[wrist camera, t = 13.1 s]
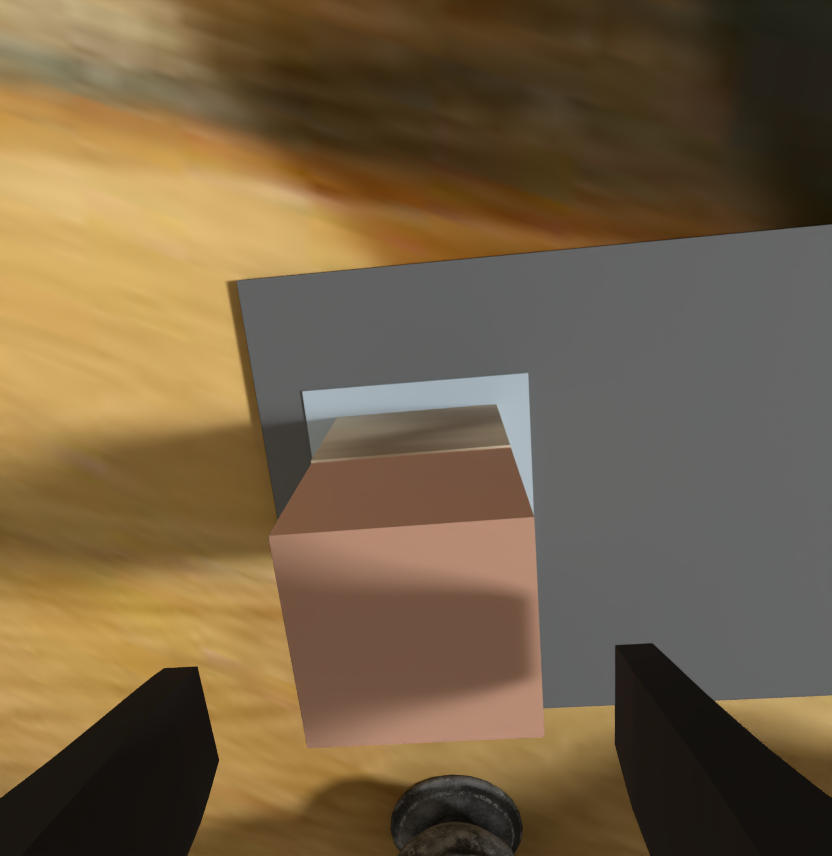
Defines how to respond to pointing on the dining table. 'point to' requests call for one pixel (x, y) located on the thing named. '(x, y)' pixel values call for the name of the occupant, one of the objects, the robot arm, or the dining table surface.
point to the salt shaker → (456, 819)
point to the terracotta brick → (412, 600)
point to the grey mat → (607, 433)
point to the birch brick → (413, 433)
